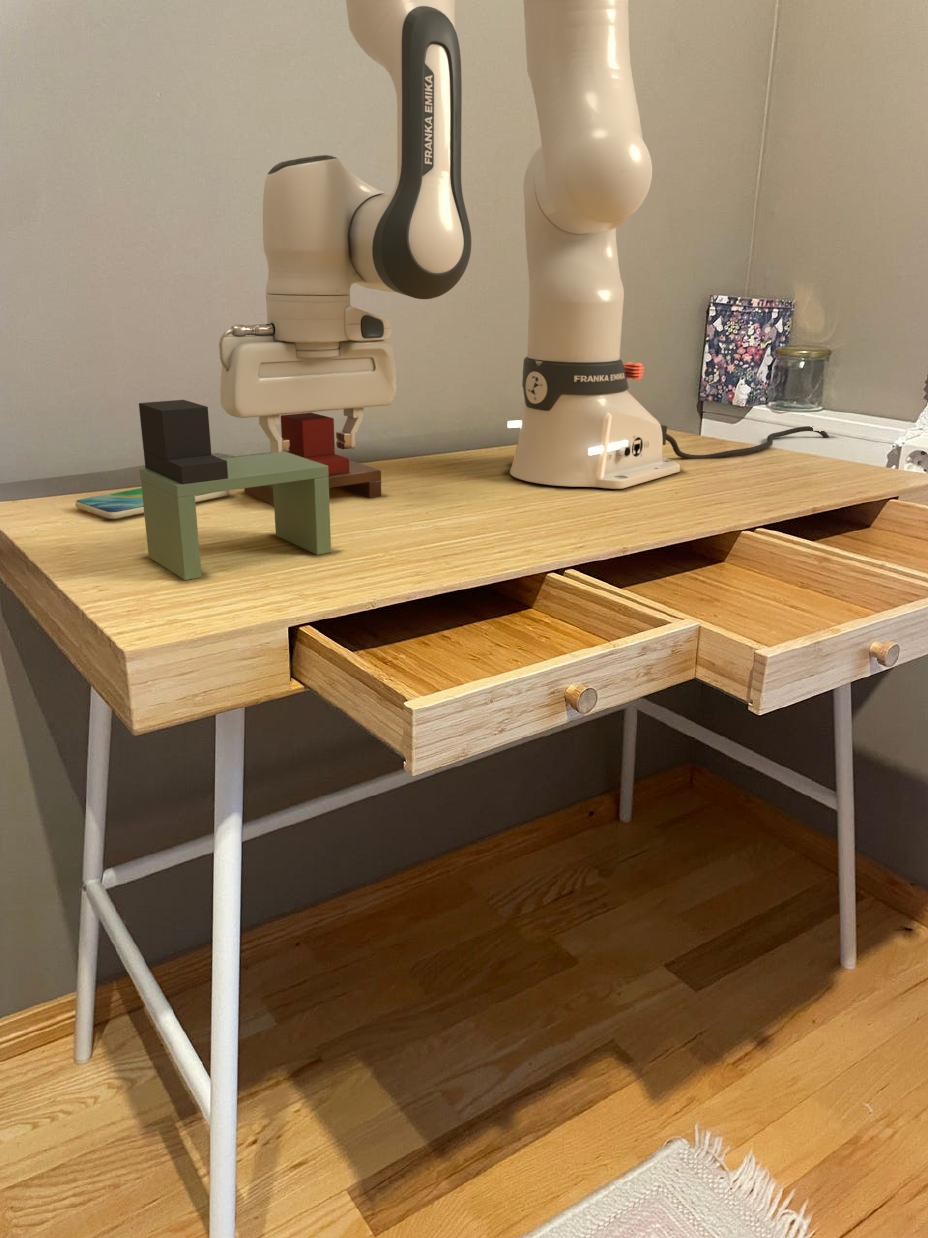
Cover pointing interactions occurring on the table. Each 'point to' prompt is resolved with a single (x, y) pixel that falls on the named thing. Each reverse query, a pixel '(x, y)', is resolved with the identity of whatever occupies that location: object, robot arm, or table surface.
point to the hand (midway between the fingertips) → (313, 451)
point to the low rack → (336, 483)
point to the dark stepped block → (179, 442)
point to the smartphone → (126, 503)
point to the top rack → (293, 487)
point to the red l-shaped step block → (313, 440)
